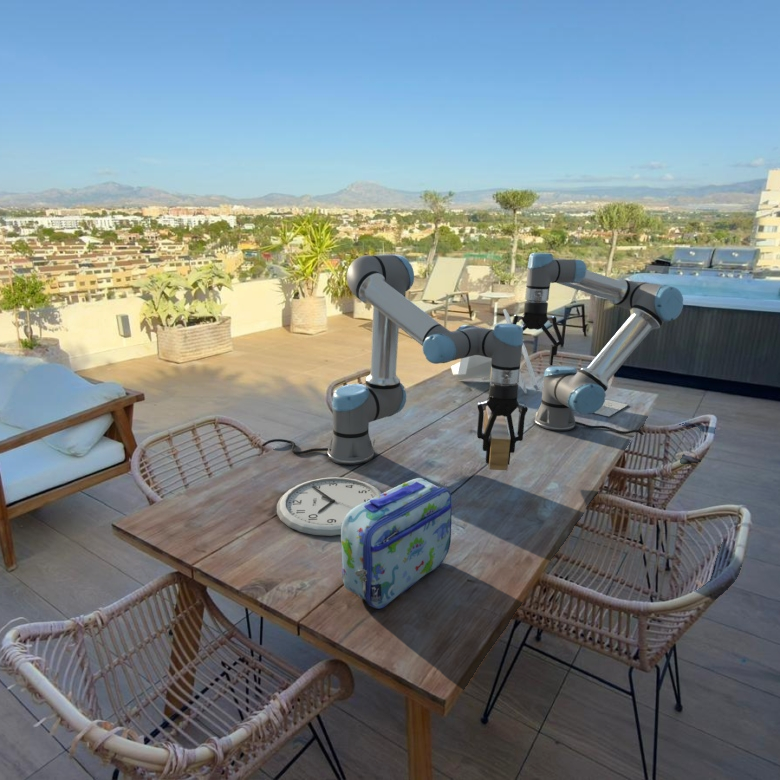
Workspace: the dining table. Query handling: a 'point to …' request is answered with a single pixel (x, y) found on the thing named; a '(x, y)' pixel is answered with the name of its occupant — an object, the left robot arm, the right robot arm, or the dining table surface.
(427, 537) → the lunch box
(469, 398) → the dining table surface
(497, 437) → the bar
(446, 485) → the fork
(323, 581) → the dining table surface
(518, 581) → the dining table surface
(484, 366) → the white plastic object
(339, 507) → the wall clock
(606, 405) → the invitation card
